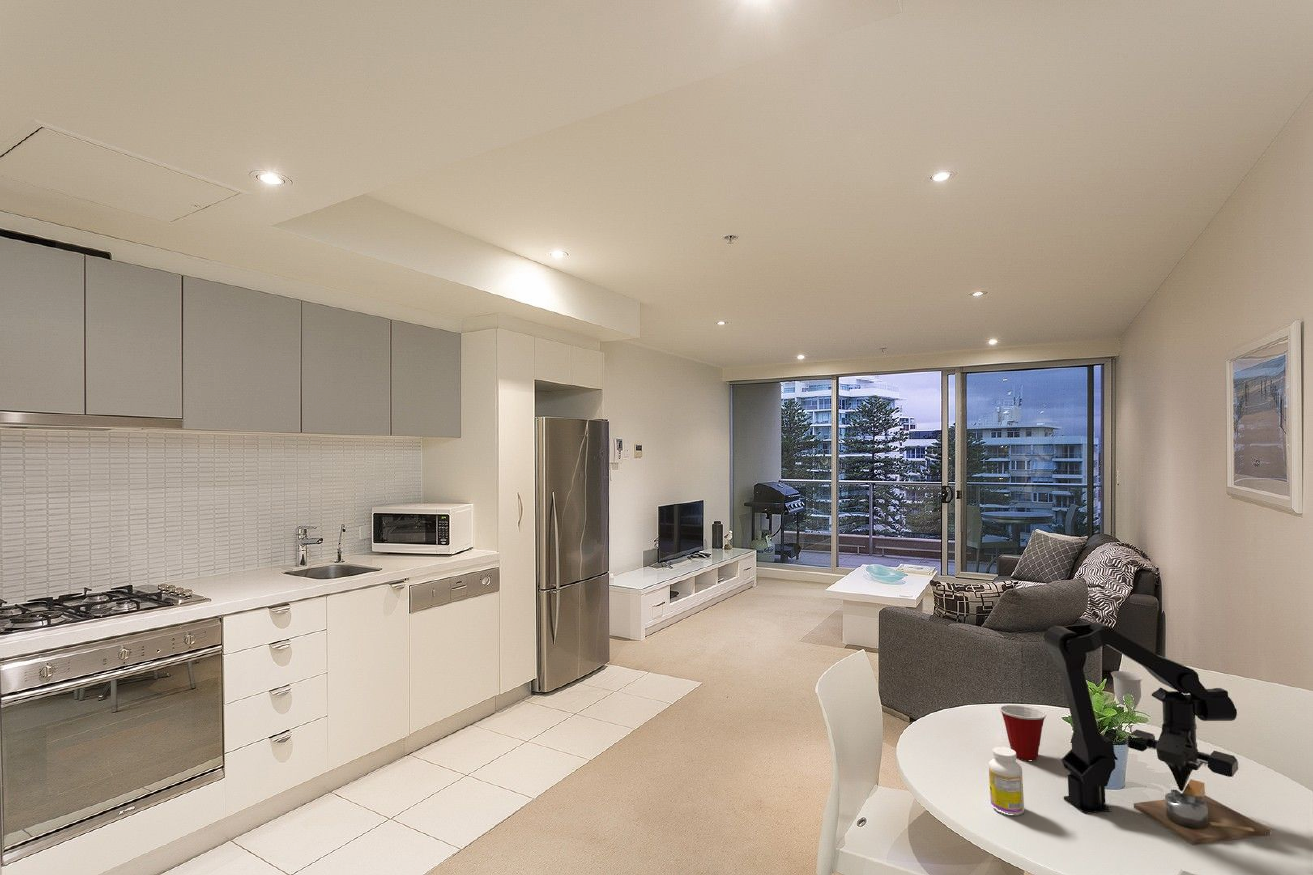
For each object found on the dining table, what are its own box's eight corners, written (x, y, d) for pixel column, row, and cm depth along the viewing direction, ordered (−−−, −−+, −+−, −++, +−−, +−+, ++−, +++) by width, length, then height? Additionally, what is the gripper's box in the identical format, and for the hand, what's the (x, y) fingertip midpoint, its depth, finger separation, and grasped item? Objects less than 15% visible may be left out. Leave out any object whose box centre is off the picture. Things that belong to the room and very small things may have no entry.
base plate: (1193, 844, 131) (1193, 839, 131) (1133, 807, 145) (1133, 802, 145) (1270, 834, 134) (1270, 829, 134) (1204, 799, 148) (1204, 794, 148)
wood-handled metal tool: (1205, 832, 133) (1203, 811, 133) (1162, 818, 138) (1161, 798, 139) (1218, 803, 143) (1217, 783, 144) (1178, 792, 149) (1177, 773, 149)
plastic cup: (1049, 752, 173) (1047, 706, 173) (1048, 769, 164) (1045, 720, 164) (1003, 743, 179) (1000, 699, 179) (999, 759, 170) (997, 713, 170)
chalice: (1107, 738, 180) (1104, 671, 180) (1131, 736, 181) (1127, 670, 181) (1129, 749, 173) (1125, 680, 173) (1153, 747, 173) (1149, 679, 174)
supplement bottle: (996, 798, 151) (993, 741, 152) (1028, 808, 146) (1025, 750, 147) (986, 809, 147) (983, 751, 147) (1018, 820, 142) (1015, 760, 142)
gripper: (1117, 717, 149) (1119, 786, 148) (1224, 745, 134) (1227, 822, 134) (1134, 704, 155) (1136, 770, 155) (1237, 729, 141) (1240, 802, 140)
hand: (1181, 790), depth 146 cm, fingers closed
